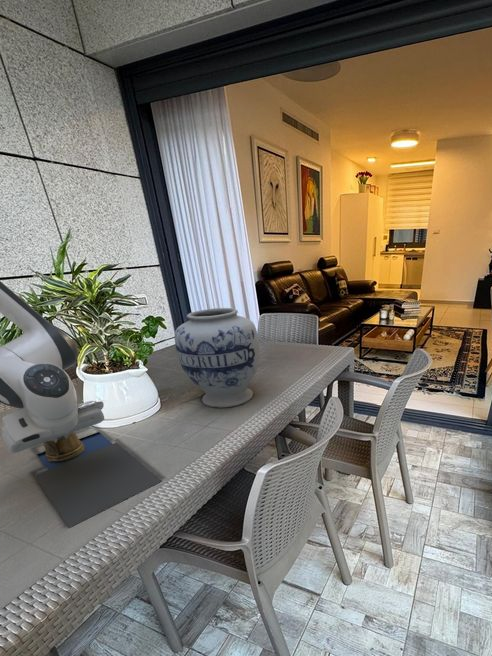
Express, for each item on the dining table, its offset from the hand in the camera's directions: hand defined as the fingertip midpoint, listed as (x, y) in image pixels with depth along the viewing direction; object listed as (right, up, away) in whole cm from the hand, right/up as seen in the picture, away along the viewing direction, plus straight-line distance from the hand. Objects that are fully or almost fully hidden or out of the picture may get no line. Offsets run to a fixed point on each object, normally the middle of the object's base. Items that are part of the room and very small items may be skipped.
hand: (59, 438), depth 90 cm
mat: (-3, -3, +9) cm, 10 cm away
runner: (+12, -10, -4) cm, 16 cm away
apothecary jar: (+34, +13, +36) cm, 51 cm away
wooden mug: (-2, -6, +5) cm, 8 cm away
